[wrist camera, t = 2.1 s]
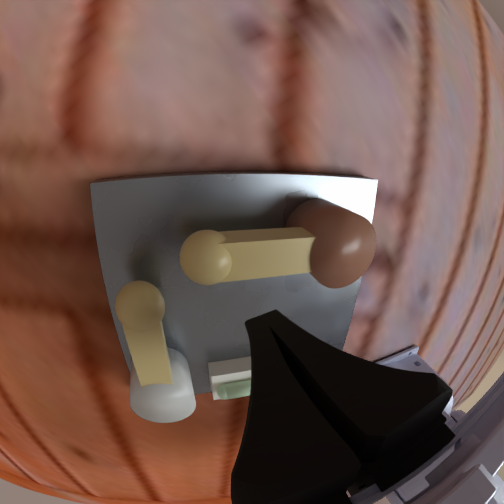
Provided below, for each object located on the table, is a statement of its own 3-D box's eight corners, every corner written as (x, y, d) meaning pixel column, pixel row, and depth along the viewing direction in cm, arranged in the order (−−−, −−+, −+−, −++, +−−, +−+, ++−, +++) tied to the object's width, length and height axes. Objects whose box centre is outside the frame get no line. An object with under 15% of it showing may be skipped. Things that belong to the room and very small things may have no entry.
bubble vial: (269, 352, 17) (281, 375, 15) (267, 376, 18) (277, 398, 16) (207, 362, 16) (214, 387, 14) (210, 386, 17) (216, 410, 15)
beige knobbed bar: (346, 198, 14) (386, 215, 12) (337, 259, 16) (371, 285, 13) (175, 202, 12) (178, 223, 9) (179, 275, 13) (185, 313, 10)
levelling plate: (365, 176, 16) (377, 179, 15) (331, 354, 21) (338, 363, 20) (96, 179, 11) (90, 183, 10) (139, 386, 17) (139, 399, 16)
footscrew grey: (191, 383, 16) (200, 423, 13) (138, 388, 15) (139, 428, 12) (176, 258, 13) (180, 293, 10) (104, 264, 12) (89, 300, 9)
